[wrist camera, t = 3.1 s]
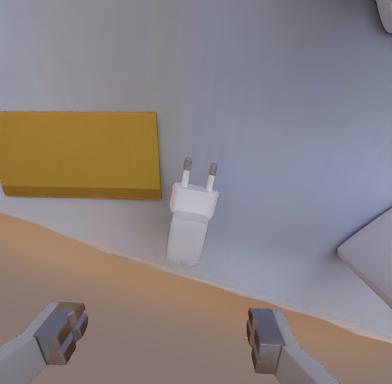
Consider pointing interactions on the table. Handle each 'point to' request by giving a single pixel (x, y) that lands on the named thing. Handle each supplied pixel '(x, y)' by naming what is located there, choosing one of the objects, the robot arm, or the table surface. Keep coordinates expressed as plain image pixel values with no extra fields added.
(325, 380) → the robot arm
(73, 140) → the yellow rectangular board
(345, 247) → the photo printer
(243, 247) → the table surface
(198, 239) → the power adapter
